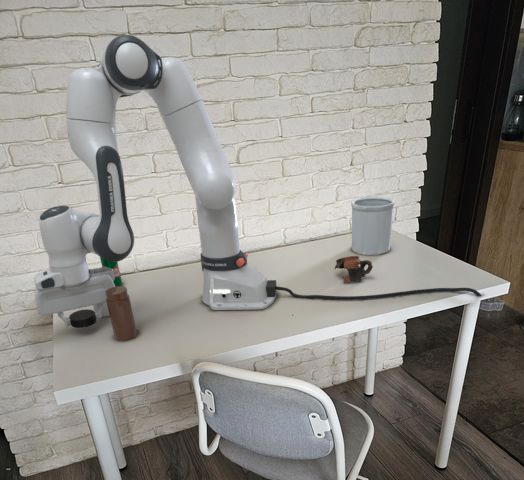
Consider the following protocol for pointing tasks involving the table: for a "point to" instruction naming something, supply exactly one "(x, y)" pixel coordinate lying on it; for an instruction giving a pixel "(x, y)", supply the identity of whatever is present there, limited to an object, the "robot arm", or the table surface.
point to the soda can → (115, 269)
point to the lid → (82, 318)
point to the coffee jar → (121, 313)
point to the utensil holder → (372, 224)
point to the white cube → (104, 310)
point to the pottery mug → (353, 268)
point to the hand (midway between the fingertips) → (83, 321)
